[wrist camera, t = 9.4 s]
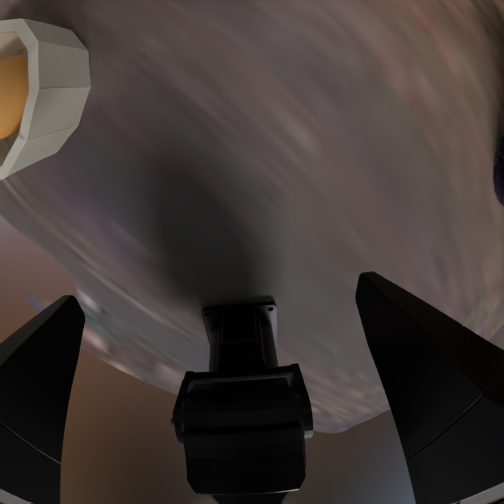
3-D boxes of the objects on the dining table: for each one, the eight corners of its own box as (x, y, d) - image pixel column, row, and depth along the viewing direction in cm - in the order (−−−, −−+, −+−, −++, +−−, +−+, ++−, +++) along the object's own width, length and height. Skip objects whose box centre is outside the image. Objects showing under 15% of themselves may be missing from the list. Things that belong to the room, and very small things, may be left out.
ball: (62, 116, 14) (9, 129, 9) (11, 140, 13) (-38, 161, 8) (57, 44, 11) (6, 37, 5) (5, 76, 10) (-44, 82, 5)
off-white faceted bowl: (97, 139, 15) (49, 158, 10) (6, 174, 15) (-38, 200, 10) (88, 7, 10) (43, -12, 5) (-6, 65, 10) (-52, 71, 5)
